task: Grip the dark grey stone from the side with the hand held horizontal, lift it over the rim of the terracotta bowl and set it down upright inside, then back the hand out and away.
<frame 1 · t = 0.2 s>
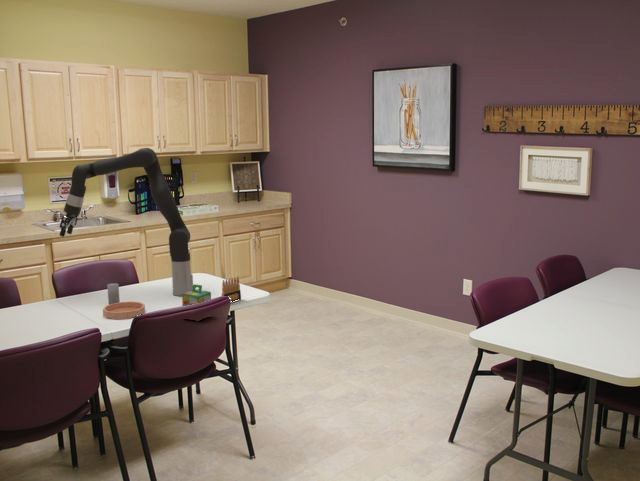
hand: (65, 234, 307), 31 cm above the table, tool tilted 20°, fingers open, 8 cm apart
terracotta bowl: (124, 313, 280), on the table
chalk box: (197, 318, 272), on the table
ammunition clip: (231, 302, 297), on the table
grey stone: (114, 305, 294), on the table
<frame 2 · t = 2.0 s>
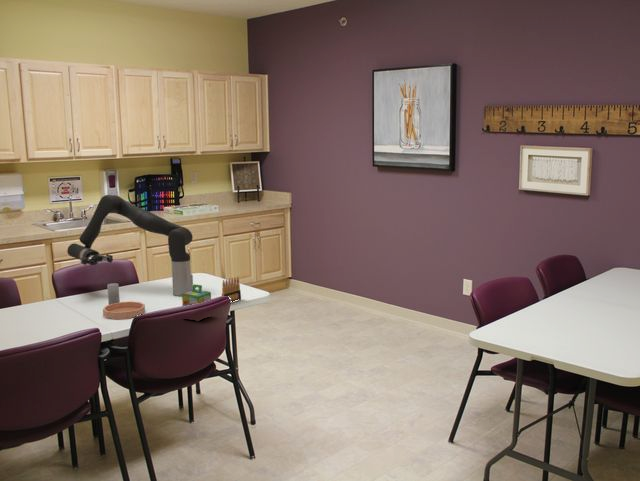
hand: (102, 261, 299), 19 cm above the table, tool horizontal, fingers open, 8 cm apart
nothing on the table moved.
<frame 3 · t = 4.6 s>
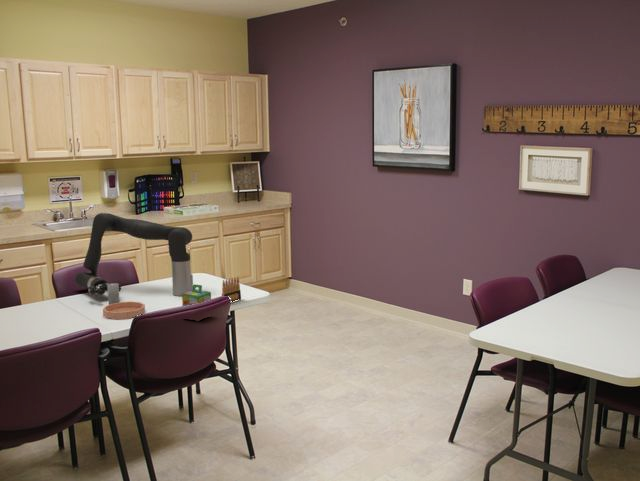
hand: (110, 291, 296), 6 cm above the table, tool horizontal, fingers open, 8 cm apart
nothing on the table moved.
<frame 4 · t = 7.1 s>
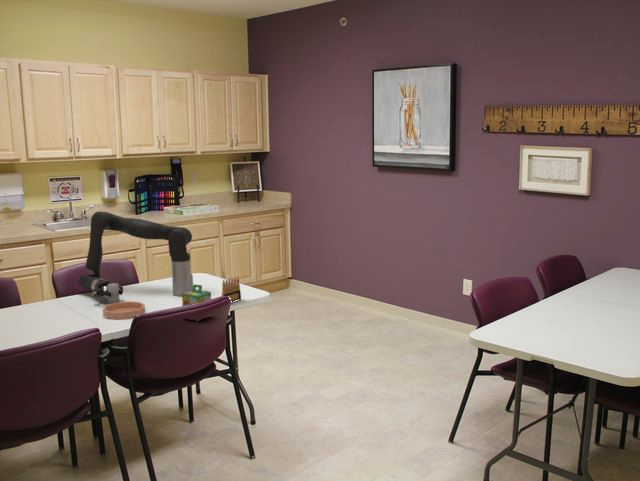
hand: (115, 293, 291), 6 cm above the table, tool horizontal, fingers closed on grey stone, 5 cm apart
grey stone: (114, 305, 294), on the table, touching gripper
everything else where it was.
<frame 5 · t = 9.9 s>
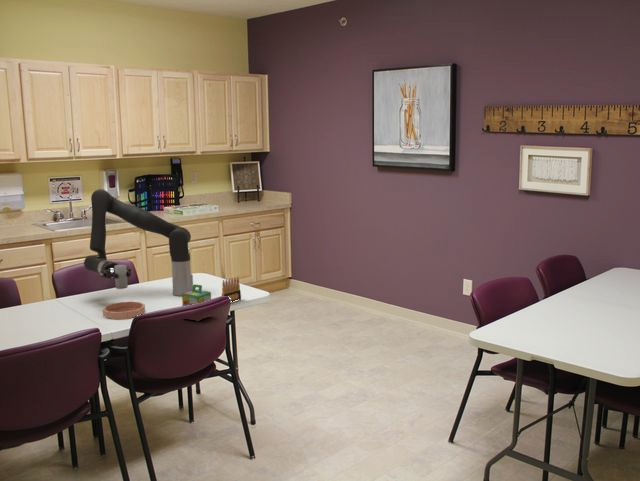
hand: (123, 275, 276), 18 cm above the table, tool horizontal, fingers closed on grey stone, 5 cm apart
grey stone: (121, 287, 279), point 12 cm above the table, touching gripper
everything else where it was.
when the fingers open (8 cm above the table, at t = 12.7 s): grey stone drops 2 cm, resting on terracotta bowl.
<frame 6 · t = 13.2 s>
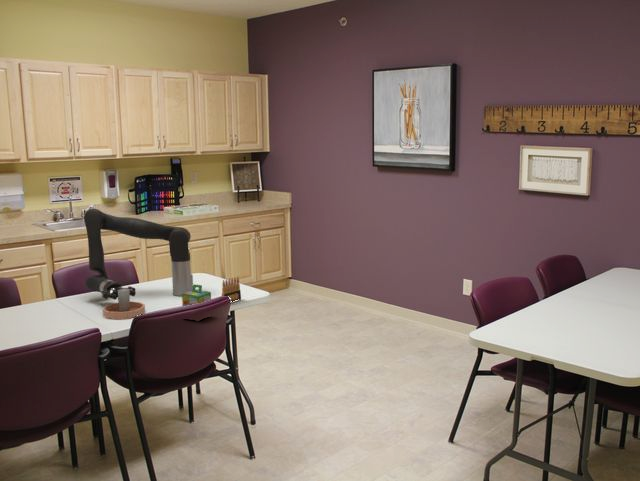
hand: (125, 295, 277), 9 cm above the table, tool horizontal, fingers open, 8 cm apart
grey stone: (124, 311, 280), point 1 cm above the table, touching terracotta bowl
everything else where it was.
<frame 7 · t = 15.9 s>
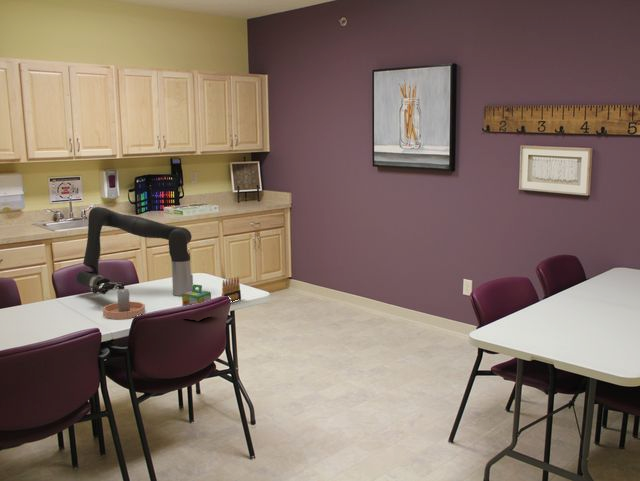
hand: (113, 290, 287), 9 cm above the table, tool horizontal, fingers open, 8 cm apart
nothing on the table moved.
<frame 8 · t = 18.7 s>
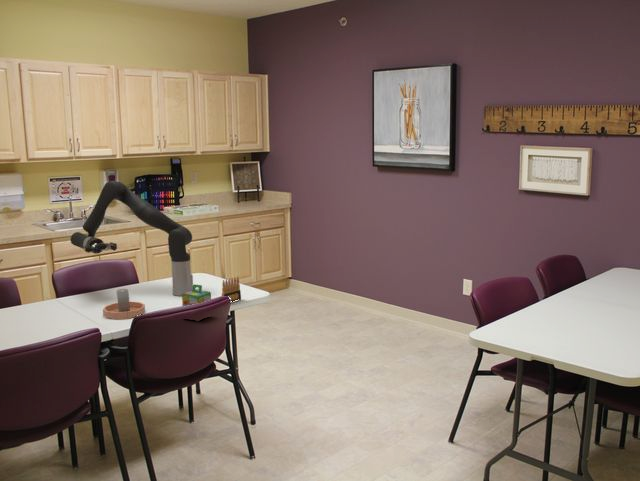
hand: (106, 249, 293), 26 cm above the table, tool horizontal, fingers open, 8 cm apart
nothing on the table moved.
at the end: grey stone inside the target area on the terracotta bowl (0.2 cm from its centre), point 0.7 cm above the terracotta bowl's base; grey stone tilted 1°; the gripper is holding nothing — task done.
